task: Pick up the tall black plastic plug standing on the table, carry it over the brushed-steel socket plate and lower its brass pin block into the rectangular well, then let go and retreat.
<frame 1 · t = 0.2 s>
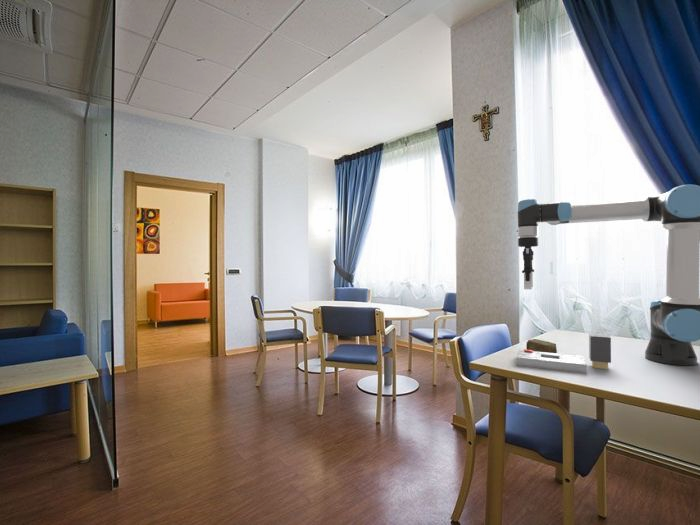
hand: (528, 288, 151), 28 cm above the table, fingers open, 13 cm apart
socket plate: (550, 364, 136), on the table
plug: (599, 366, 133), on the table
stone block: (541, 353, 154), on the table
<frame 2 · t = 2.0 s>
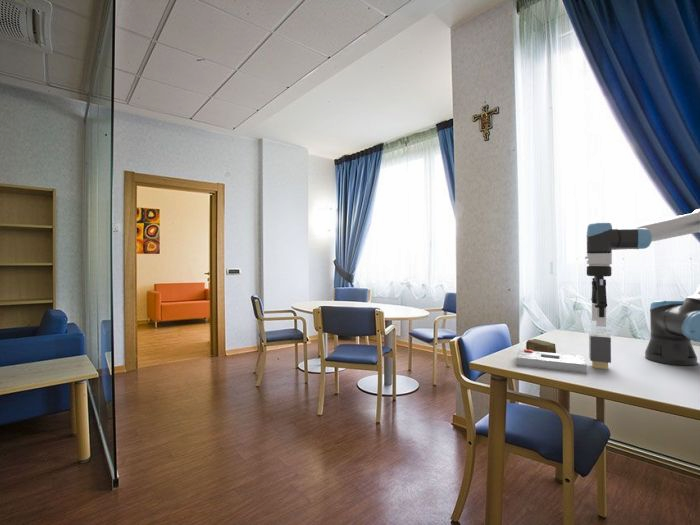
hand: (598, 323, 133), 16 cm above the table, fingers open, 13 cm apart
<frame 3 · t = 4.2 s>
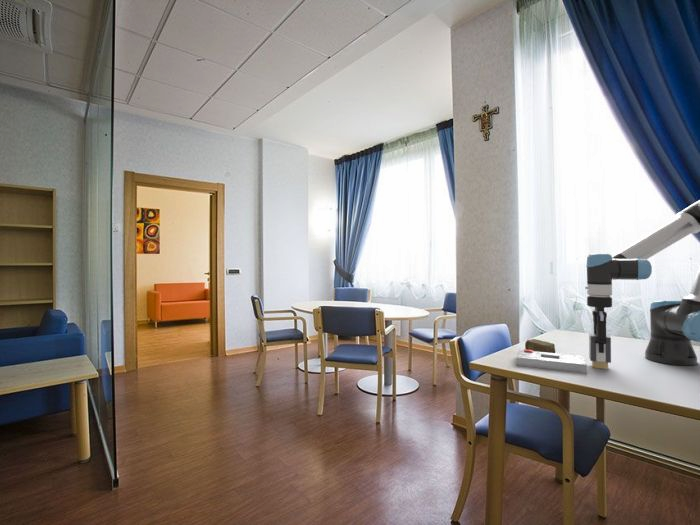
hand: (599, 359, 133), 3 cm above the table, fingers closed on plug, 5 cm apart
plug: (599, 366, 133), on the table, touching gripper
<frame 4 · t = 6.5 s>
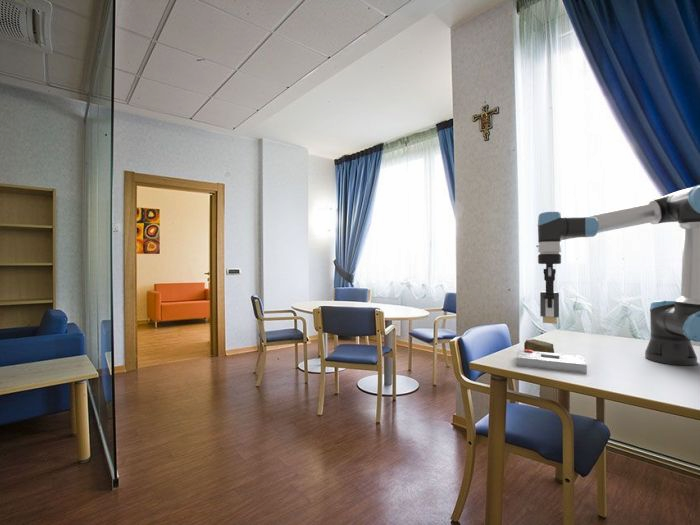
hand: (549, 315, 136), 19 cm above the table, fingers closed on plug, 5 cm apart
plug: (549, 322, 136), point 16 cm above the table, touching gripper
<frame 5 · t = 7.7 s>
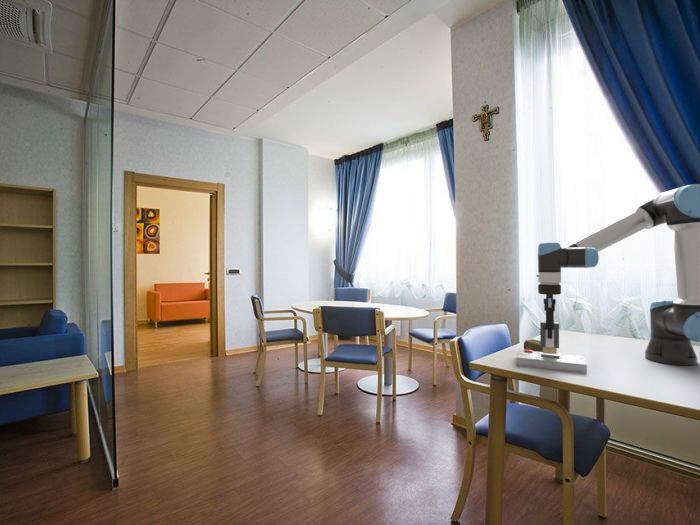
hand: (549, 345, 136), 7 cm above the table, fingers closed on plug, 5 cm apart
plug: (549, 352, 136), point 4 cm above the table, touching gripper
when the fingers open (5 cm above the table, at t = 8.8 s): plug drops 2 cm, resting on socket plate.
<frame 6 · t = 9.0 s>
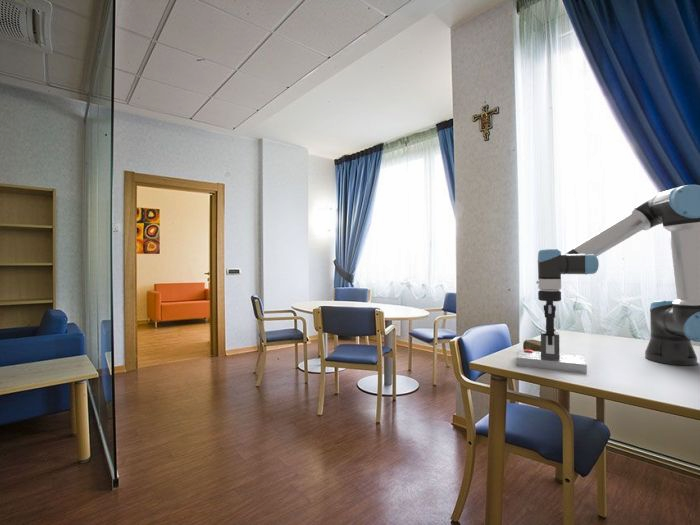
hand: (550, 350, 136), 5 cm above the table, fingers open, 7 cm apart
plug: (550, 363, 136), resting on socket plate
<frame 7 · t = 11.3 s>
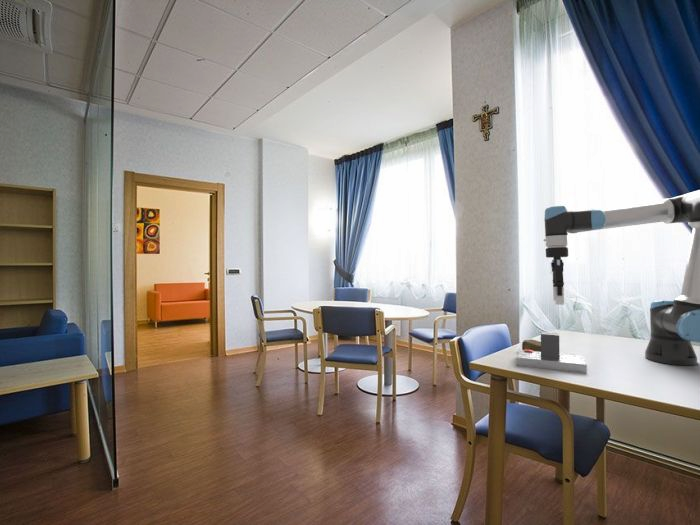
hand: (558, 302, 139), 23 cm above the table, fingers open, 13 cm apart
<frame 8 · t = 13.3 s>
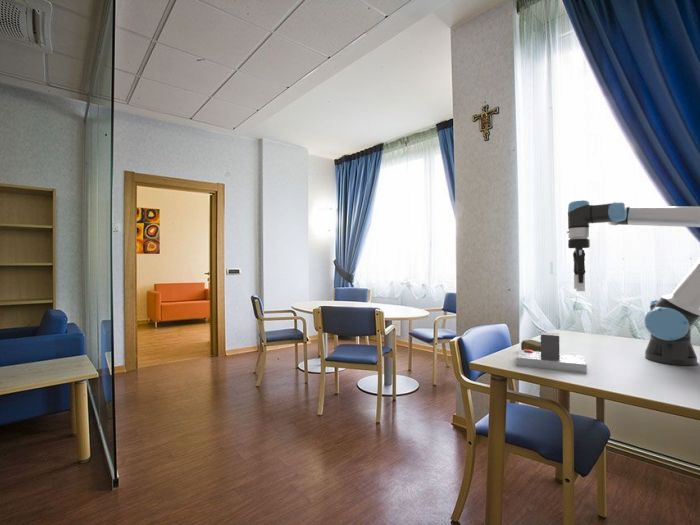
hand: (579, 290, 150), 27 cm above the table, fingers open, 13 cm apart
plug: (550, 364, 136), resting on socket plate
at the end: plug 0.0 cm off-centre on the socket plate, point 0.0 cm above the socket plate's base; plug tilted 0°; the gripper is holding nothing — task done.
